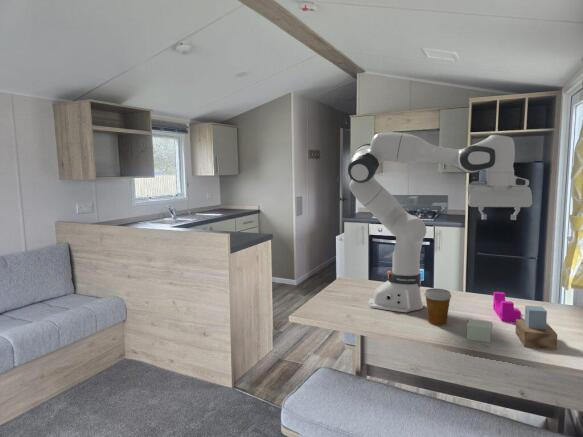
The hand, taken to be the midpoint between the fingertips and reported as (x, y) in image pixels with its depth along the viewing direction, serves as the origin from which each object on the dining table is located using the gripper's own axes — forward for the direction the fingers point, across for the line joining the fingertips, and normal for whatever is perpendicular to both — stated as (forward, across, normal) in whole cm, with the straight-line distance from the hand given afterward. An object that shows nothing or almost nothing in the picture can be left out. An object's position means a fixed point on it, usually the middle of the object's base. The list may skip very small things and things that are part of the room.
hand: (498, 219), depth 143 cm
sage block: (+39, -7, -13) cm, 42 cm away
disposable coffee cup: (+39, -20, -2) cm, 44 cm away
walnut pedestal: (+39, +10, -12) cm, 42 cm away
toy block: (+40, +6, +13) cm, 42 cm away
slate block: (+34, +10, -12) cm, 37 cm away
